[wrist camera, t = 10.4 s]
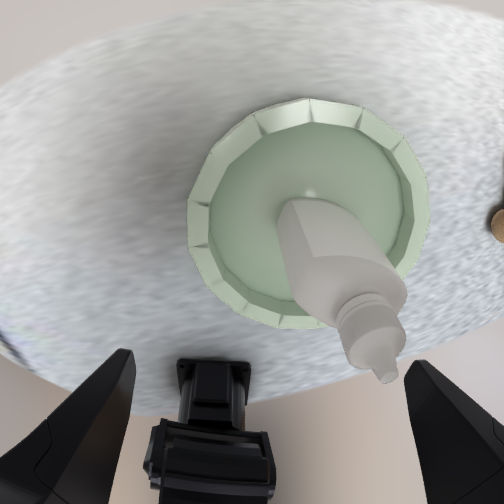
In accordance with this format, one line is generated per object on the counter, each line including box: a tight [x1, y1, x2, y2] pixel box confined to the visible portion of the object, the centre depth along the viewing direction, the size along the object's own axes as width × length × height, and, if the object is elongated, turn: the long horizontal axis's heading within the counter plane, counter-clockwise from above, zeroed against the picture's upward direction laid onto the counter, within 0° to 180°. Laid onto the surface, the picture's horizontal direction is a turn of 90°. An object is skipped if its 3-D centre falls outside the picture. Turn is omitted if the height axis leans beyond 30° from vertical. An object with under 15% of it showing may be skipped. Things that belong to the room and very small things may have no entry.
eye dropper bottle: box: [276, 198, 407, 384], centre depth 15 cm, size 4×6×12 cm
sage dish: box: [187, 98, 430, 329], centre depth 20 cm, size 15×15×2 cm
